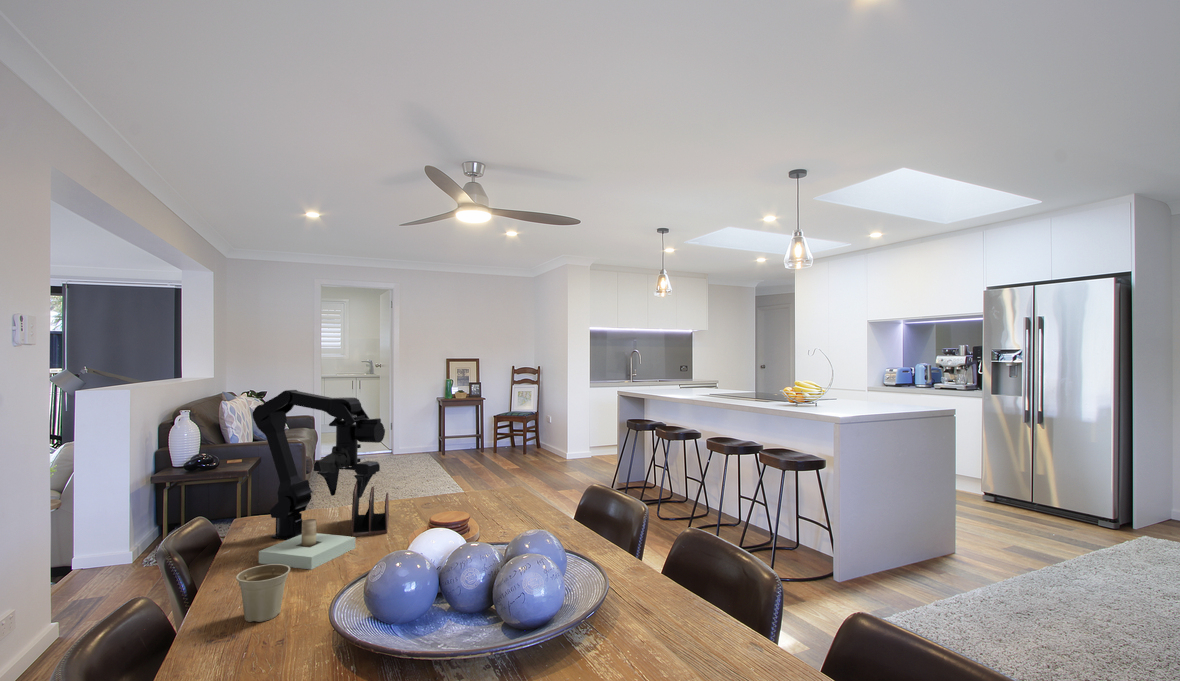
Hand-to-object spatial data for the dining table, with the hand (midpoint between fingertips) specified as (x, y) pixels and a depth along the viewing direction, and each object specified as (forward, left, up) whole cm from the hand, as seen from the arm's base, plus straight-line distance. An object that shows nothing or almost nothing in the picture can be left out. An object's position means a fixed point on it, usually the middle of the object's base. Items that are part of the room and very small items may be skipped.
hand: (346, 496), depth 161 cm
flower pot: (+17, -45, -12) cm, 50 cm away
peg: (0, -14, -12) cm, 18 cm away
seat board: (0, -14, -12) cm, 18 cm away
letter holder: (-1, +13, -12) cm, 18 cm away
